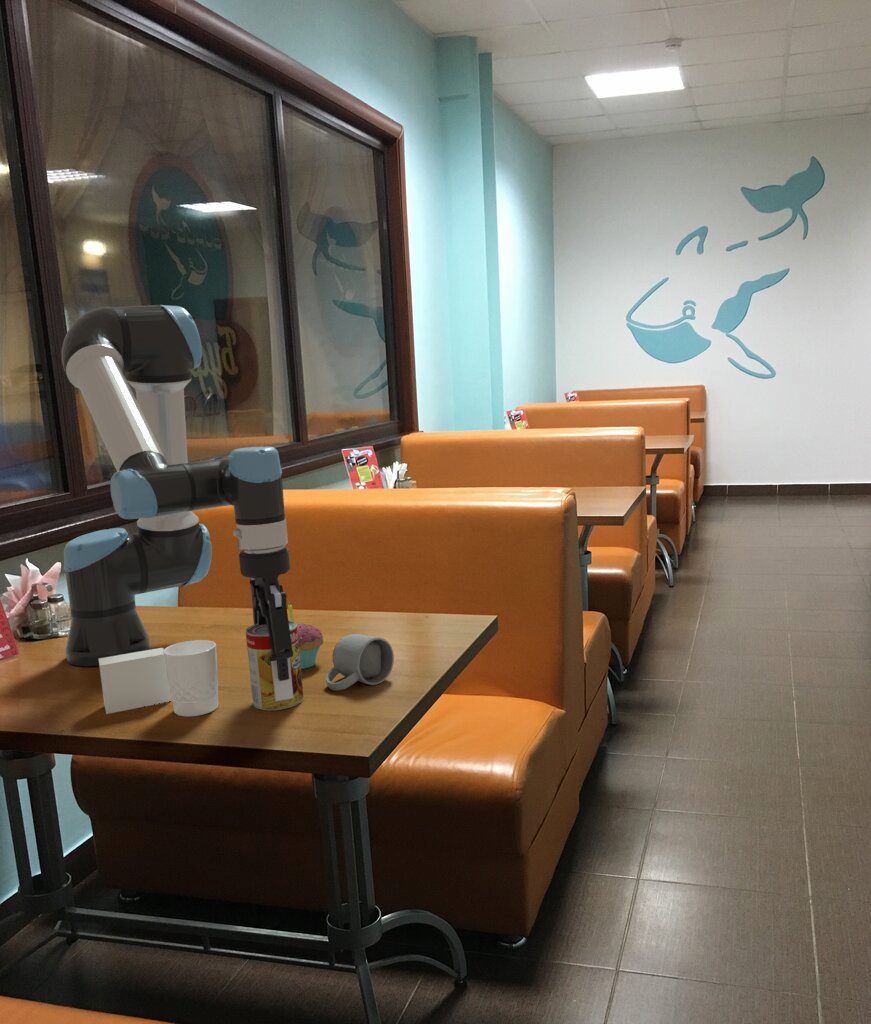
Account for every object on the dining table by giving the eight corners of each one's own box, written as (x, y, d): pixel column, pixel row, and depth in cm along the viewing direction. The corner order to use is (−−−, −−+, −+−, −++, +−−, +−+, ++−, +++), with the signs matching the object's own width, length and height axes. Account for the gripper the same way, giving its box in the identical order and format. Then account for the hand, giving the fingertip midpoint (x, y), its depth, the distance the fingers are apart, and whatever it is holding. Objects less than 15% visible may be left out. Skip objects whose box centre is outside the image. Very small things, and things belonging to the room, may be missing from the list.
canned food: (312, 701, 148) (305, 627, 146) (264, 714, 143) (257, 638, 141) (291, 688, 154) (284, 617, 152) (245, 700, 150) (237, 627, 148)
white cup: (201, 696, 153) (195, 637, 152) (232, 705, 148) (226, 644, 147) (160, 712, 147) (152, 650, 146) (191, 722, 142) (183, 658, 141)
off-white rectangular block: (104, 706, 152) (98, 658, 151) (168, 694, 156) (162, 647, 155) (106, 714, 148) (100, 665, 147) (171, 701, 152) (166, 653, 151)
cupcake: (310, 674, 161) (304, 605, 159) (267, 671, 164) (260, 604, 162) (333, 658, 169) (327, 592, 167) (291, 655, 172) (285, 591, 170)
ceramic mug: (364, 668, 162) (360, 625, 161) (396, 677, 156) (392, 632, 155) (315, 687, 155) (310, 642, 154) (347, 697, 149) (342, 650, 148)
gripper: (225, 541, 153) (240, 676, 156) (253, 563, 134) (269, 716, 138) (271, 535, 156) (284, 668, 159) (305, 555, 137) (319, 706, 140)
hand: (277, 690), depth 148 cm, fingers closed on canned food, 8 cm apart
